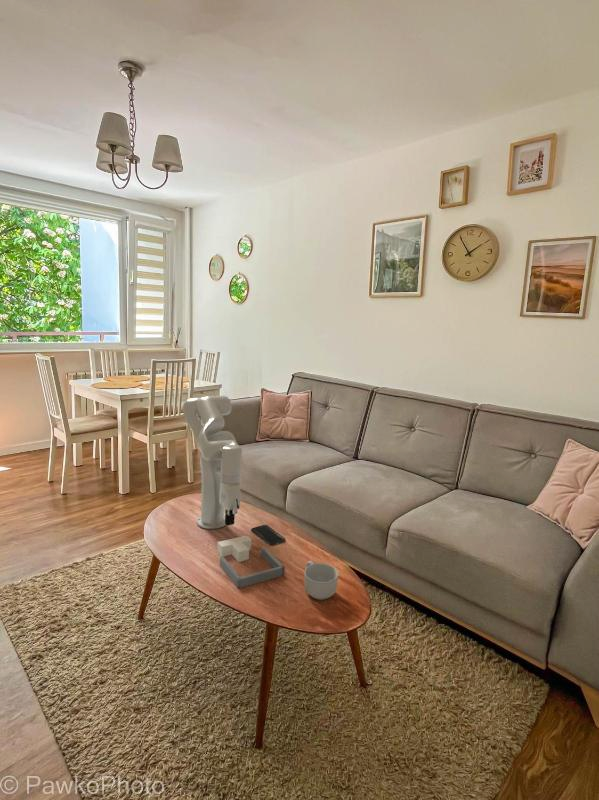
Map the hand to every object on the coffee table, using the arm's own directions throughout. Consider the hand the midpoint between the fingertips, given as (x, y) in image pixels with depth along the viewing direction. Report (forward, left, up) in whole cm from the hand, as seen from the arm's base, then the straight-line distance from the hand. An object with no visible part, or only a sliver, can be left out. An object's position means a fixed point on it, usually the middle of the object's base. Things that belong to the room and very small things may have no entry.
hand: (229, 524), depth 169 cm
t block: (+8, 0, -9) cm, 12 cm away
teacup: (+40, +14, -9) cm, 43 cm away
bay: (+19, 0, -9) cm, 21 cm away
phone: (0, +17, -9) cm, 19 cm away
